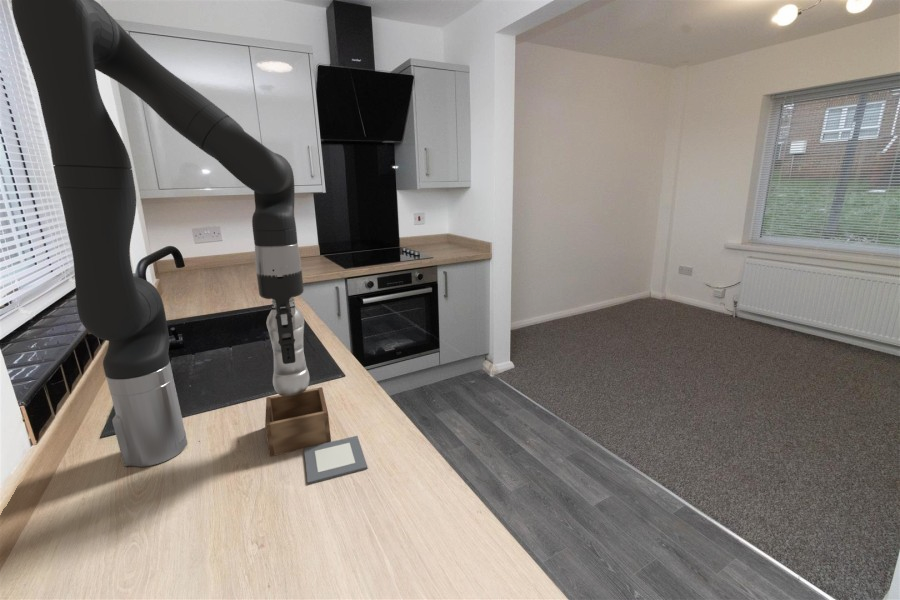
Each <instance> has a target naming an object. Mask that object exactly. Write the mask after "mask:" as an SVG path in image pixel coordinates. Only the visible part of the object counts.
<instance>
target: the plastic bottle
mask: <svg viewBox="0 0 900 600" xmlns="http://www.w3.org/2000/svg"><path fill="white" fill-rule="evenodd" d="M295 301H296V300H295V297H291V298H290V299H289V303H290V306H294V304H295ZM293 303H294V304H293ZM272 304H273V305H274V307H276V301H275V300H274V299H271V305H272ZM295 312H296V313H295V315H294V316H295V325H296V329H295V330H294V331H293V334H294V339H295V342H294V350H295V359H296V361H295V362H294V363H290V364H284V363H283V360H282V352H281V346H280V344H279V343H278V341H279V335H278V332H276V330H275V322H274V317H273V315H272V309H271V310H270V312H269V314H268V315H267V318H266V328H267V330H268V335H269V339H270V342H271V347H272V349H271V350H272V354H273V373H272V374H273V375H272V385H273V388H274V391H275V393H277V394H278V395H282V396H293V395H297V394H300V393H302V392H304V391H305V390H308V386H310V372H309V370H308V367H307V363H306V357H305V353H304V352H305V351H304V350H305V349H304V331H305V317H304V315H303V312H301V310H300V309H299V308H298V307H297V306H296V305H295ZM287 322H288V321H287ZM292 322H293V318H292ZM288 337H291V334H290V333H284V334H282V338H288Z"/></svg>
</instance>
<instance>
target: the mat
mask: <svg viewBox="0 0 900 600" xmlns="http://www.w3.org/2000/svg"><path fill="white" fill-rule="evenodd" d="M303 450H304V459H305V460H304V461H305V470H306V478H307V485H310V484H311V485H312V484H315V483H317V482H318V483H319V482H322V481H326V480H330V479H333V478H337V477H340V476H345V475H349V474H352V473H357V472H359V471H364V470H367V469H369V468H368V464H367V461H366V458H365V455H364V452H363V448H362V446H361V443H360V440H359V436H358V435H354V436H350V437H346V438H341V439H338V440H333V441H332V440H331V442H328V443H324V444H319V445H315V446H311V447H307V448H304V449H303Z"/></svg>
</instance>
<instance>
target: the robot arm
mask: <svg viewBox="0 0 900 600" xmlns="http://www.w3.org/2000/svg"><path fill="white" fill-rule="evenodd" d="M11 8H12V9H11V10H12V15H13V19H14V23H15V26H16V29H17V32H18V35H19V39H20V40H21V44H22V47H23V50H24V52H25V56H26V59H27V62H28V65H29V67H30V70H31V74H32V76H33V79H34V83H35V86H36V90H37V94H38V99H39V103H40V108H41V113H42V118H43V122H44V125H45V126H44V127H45V131H46V135H47V139H48V144H49V149H50V155H51V160H52V165H53V167H52V168H53V173H54V176H55V177H54V178H55V181H56V185H57V190H58V193H59V197H60V202H61V204H62V205H61V206H62V210H63V215H64V220H65V225H66V231H67V234H68V238H69V244H70V249H71V252H72V253H71V254H72V258H73V259H72V260H73V269H74V271H73V272H74V282H75V283H74V285H75V299H76V301H75V302H76V308H77V315H78V317H79V320H80V322H81V324H82V325H83V327H84V328H85V329H86V330H87V331H88V332H89V333H90V334H91V335H93V336H94V337H95V338H98V339H100V340H103V341H107V342H108V346H107V350H106V352H105V355H104V358H103V360H102V367H103V372H104V375H105V377H106V378H105V379H106V381H107V385H108V389H109V393H110V396H111V401H112V404H113V408H114V412H115V415H114V416H113V418H112V421H111V422H112V425H113V429H114V434H115V437H116V440H117V445H118V448H119V451H120V455H121V459H122V462H123V465H124V467H129V466H134V467H141V468H143V467H150V466H155V465H158V464H161V463H164V462H166V461H168V460H171V459H173V458H174V457H176V456H178V455H179V454H181V452H183V451H184V450H185V448H186V447H187V445H188V439H187V433H186V429H185V425H184V421H183V416H182V411H181V407H180V402H179V398H178V393H177V390H176V384H175V380H174V375H173V371H172V370H173V369H172V365H171V361H170V357H169V349H170V335H169V329H168V328H169V327H168V322H167V317H166V316H167V315H166V311H165V307H164V302H163V299H162V296H161V295H160V294H161V293H160V292H159V290H158V289H157V288H156V286H154V285H153V284H152V283H151V282H150V281H148V280H146V279H144V278H141V277H138V276H134V272H133V267H132V263H131V252H130V251H131V241H132V235H133V230H134V229H133V228H134V223H135V219H136V218H135V217H136V211H137V191H136V186H135V184H136V183H135V180H134V175H133V169H132V168H133V166H132V162H131V158H130V156H129V152H128V149H127V147H126V146H125V143H124V141H123V139H122V137H121V135H120V133H119V131H118V130H117V127H116V126H115V124H114V122H113V120H112V118H111V116H110V114H109V112H108V110H107V108H106V106H105V104H104V101H103V99H102V96H101V95H102V94H101V92H100V88H99V85H98V78H97V71H98V72H100V73H101V74H104V75H105V76H107V77H108V78H110V79H112V80H114V81H116V82H117V83H119V84H120V85H122V86H123V87H125V88H126V89H128V90H129V91H130V92H132V93H133V94H135V95H136V96H137V97H138V98H140V99H141V100H142V101H143V102H144V103H145V104H146V105H147V106H149V107H150V108H151V110H153V111H154V112H155V113H156V114H157V115H158V116H159V117H160V118H161V119H162V120H163V121H164V122H165V123H166V124H168V125H169V126H170V127H172V129H173V130H175V131H176V132H177V133H178V134H180V135H181V136H183V138H186V140H187V141H189V142H190V143H192V144H193V145H195V146H196V147H197V148H199V149H200V150H201V151H203V152H204V153H206V154H207V155H209V156H210V157H212V158H213V159H215V160H216V161H217V162H218V163H219V164H220V165H221V166H222V167H223V168H225V169H226V171H228V172H229V173H230V174H231V175H232V176H234V178H236V179H237V180H238V181H239V182H241V183H242V185H244V186H246V187H247V188H248V189H250V190H251V191H253V197H254V206H255V209H254V212H253V213H252V218H251V219H252V220H251V224H252V225H251V226H252V233H253V243H254V244H253V245H254V263H255V272H256V279H257V286H258V295H259V297H260V298H262V299H266V300H272V299H274V300H275V301H276V307H274V305H273V304H272V303H271V310H272V315H273V317H274V322H275V330H276V332H278V335H279V341H278V343H279V344H280V346H281V352H282V360H283V363H284V364H290V363H294V362H295V361H296V359H295V350H294V342H295V339H294V334H293V331H294V330H295V329H296V325H295V316H294V315H295V313H296V312H295V306H296V303H295V302H294V303H293V304H294V306H290V303H289V299H290V298H291V297H294V298H296V297H299V296H300V295H302V294H303V293H304V292H305V291H304V289H305V288H304V281H303V272H302V271H303V269H302V261H301V260H302V259H301V254H300V253H301V252H300V249H299V244H298V234H297V225H296V219H295V197H296V196H295V191H296V190H295V178H294V177H295V176H294V171H293V168H292V165H291V164H290V162H289V161H288V160H287V158H285V157H284V156H282V155H281V154H279V153H276V152H273V151H272V150H271V149H270V148H268V147H266V146H265V145H264V144H263V143H261V142H260V141H258V140H257V139H255V138H254V137H253V136H251V135H250V134H249V133H248V132H246V131H245V130H244V128H243V127H242V126H241V125H240V124H239V122H237V121H236V120H235V119H234V118H232V117H231V116H230V115H229V114H227V112H225V111H224V110H222V109H221V108H220V107H218V106H217V105H216V104H215V103H214V102H212V101H211V100H210V99H208V98H207V97H206V96H204V95H203V94H202V93H200V92H199V91H197V90H196V89H194V88H193V87H192V86H190V85H189V84H187V82H185V81H184V80H182V79H181V78H179V77H178V76H176V75H175V73H172V72H171V71H170V70H169V69H167V68H166V67H164V65H162V64H161V62H158V61H157V60H156V59H155V58H154V57H153V56H151V54H149V53H148V52H147V51H146V50H145V49H144V48H143V47H142V46H141V45H140V44H139V43H138V42H137V41H136V40H135V38H133V37H132V36H131V35H130V34H129V33H128V32H127V30H125V29H124V28H123V27H122V26H121V25H120V24H119V23H118V22H117V20H115V19H114V17H113V16H111V15H110V13H109V12H108V11H107V9H105V8H104V6H103V5H101V4H100V3H99V2H98V1H96V0H11ZM292 318H293V322H292ZM287 321H288V322H287ZM284 333H290V334H291V337H288V338H282V334H284Z"/></svg>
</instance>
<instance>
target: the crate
mask: <svg viewBox="0 0 900 600" xmlns="http://www.w3.org/2000/svg"><path fill="white" fill-rule="evenodd" d="M325 397H326V396H325V393H324V389H323V387H322V386H321V387H315V388H310V389H306V390H305V391H304V392H302V393H300V394H297V395H293V396H282V395H279V394H278V395H277V394H276V395H273V396H267V397H266V398H265V401H266V402H265V417H264V418H265V421H264V425H265V426H264V427H265V433H266V434H265V435H266V439H267V446H268V452H269V457H272V456H277V455H282V454H286V453H291V452H294V451H298V450H304V448H307V447H311V446H315V445H319V444H324V443H328V442H332V437H331V429H330V419H329V410H328V407H327V402H326V398H325Z"/></svg>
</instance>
